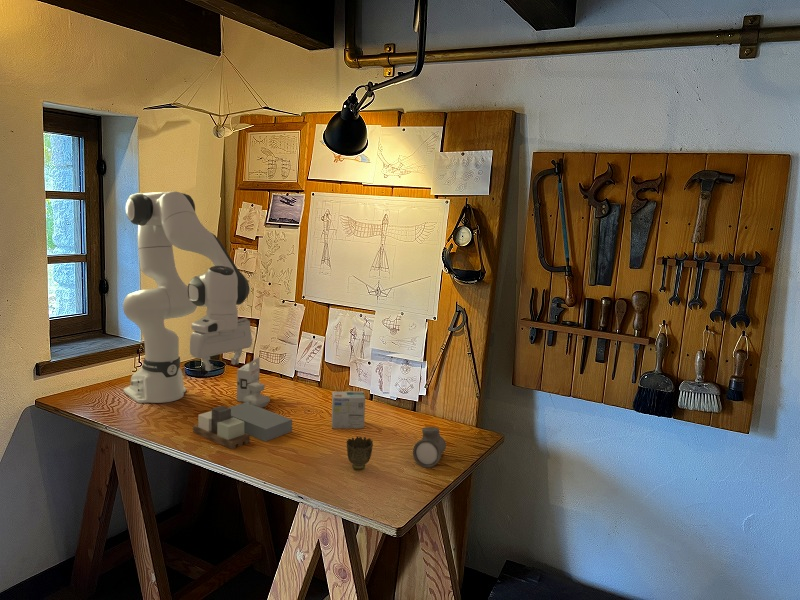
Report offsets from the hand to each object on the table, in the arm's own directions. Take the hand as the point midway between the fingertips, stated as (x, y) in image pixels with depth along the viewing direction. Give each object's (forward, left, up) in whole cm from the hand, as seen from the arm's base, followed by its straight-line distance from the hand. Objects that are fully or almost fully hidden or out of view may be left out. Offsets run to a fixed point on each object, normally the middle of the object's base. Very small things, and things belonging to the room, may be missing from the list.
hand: (222, 367), depth 186 cm
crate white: (-5, 0, -20) cm, 21 cm away
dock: (+1, +12, -22) cm, 25 cm away
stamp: (-12, +24, -23) cm, 35 cm away
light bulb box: (+21, +34, -23) cm, 46 cm away
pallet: (0, 0, -23) cm, 23 cm away
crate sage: (+4, 0, -20) cm, 21 cm away
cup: (+44, +12, -22) cm, 51 cm away
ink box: (-21, +28, -22) cm, 42 cm away
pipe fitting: (+56, +31, -23) cm, 68 cm away
